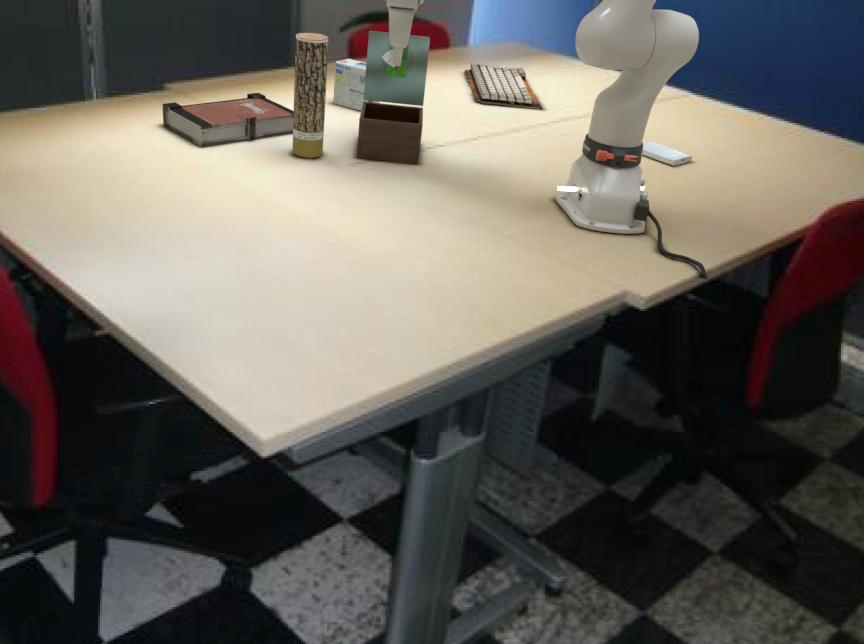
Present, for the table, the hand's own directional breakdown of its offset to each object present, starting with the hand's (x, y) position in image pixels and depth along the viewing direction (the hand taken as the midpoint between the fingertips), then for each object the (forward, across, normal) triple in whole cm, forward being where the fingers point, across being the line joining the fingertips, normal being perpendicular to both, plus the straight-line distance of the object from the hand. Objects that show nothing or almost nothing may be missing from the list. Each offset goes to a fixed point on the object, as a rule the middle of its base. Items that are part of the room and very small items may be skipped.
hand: (397, 60), depth 196 cm
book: (+21, -6, -37) cm, 43 cm away
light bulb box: (+21, -37, -10) cm, 44 cm away
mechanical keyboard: (+21, -71, +31) cm, 81 cm away
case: (+21, -2, 0) cm, 21 cm away
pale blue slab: (+4, -11, 0) cm, 12 cm away
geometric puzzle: (+3, 0, 0) cm, 3 cm away
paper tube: (+21, +6, -18) cm, 28 cm away
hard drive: (+21, -20, +68) cm, 74 cm away
